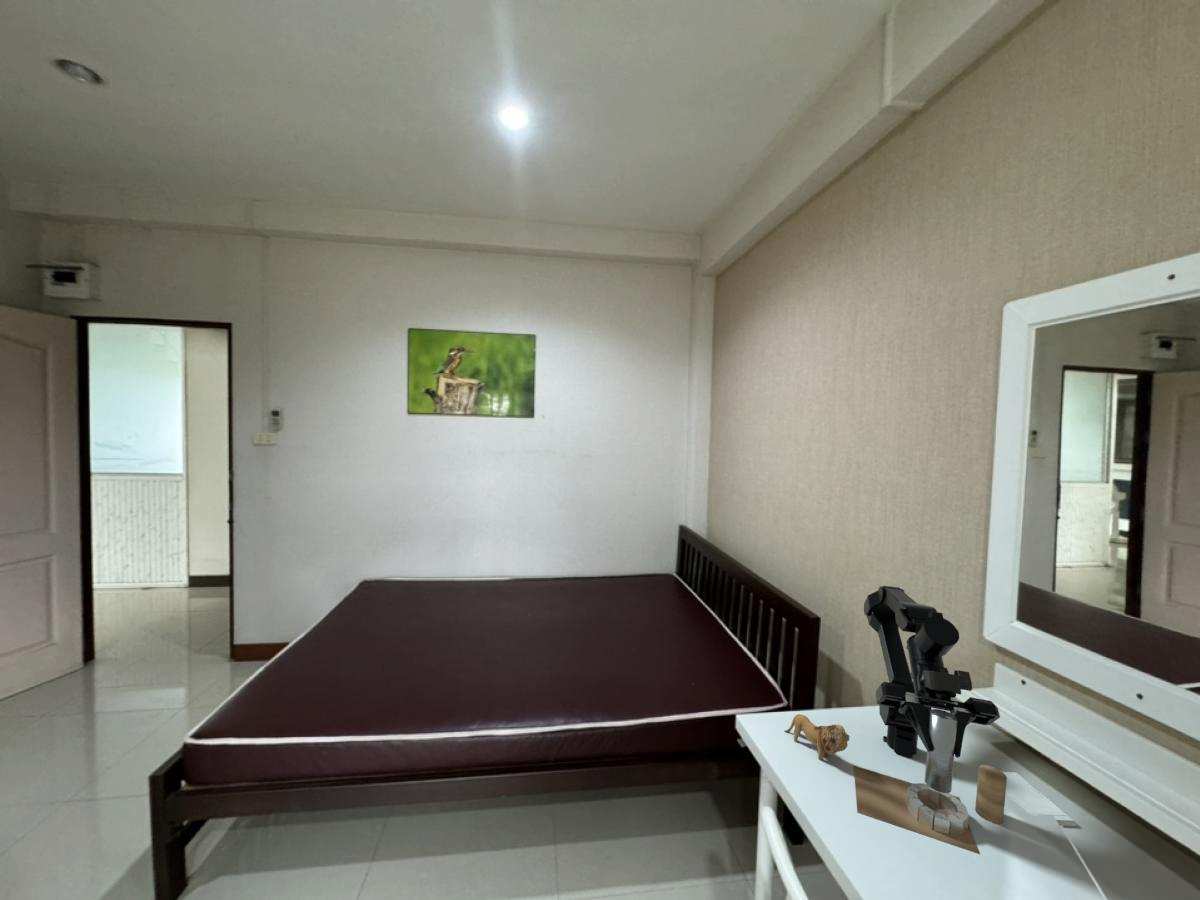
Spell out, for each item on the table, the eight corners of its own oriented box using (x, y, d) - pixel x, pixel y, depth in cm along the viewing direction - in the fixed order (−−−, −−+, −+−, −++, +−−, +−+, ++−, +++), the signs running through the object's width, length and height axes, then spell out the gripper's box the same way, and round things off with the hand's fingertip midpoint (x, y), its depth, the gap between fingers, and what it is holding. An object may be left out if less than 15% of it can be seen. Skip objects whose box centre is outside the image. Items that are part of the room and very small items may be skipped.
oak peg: (972, 808, 91) (976, 762, 91) (998, 816, 89) (1002, 769, 89) (978, 823, 87) (982, 775, 87) (1005, 832, 86) (1010, 783, 85)
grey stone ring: (903, 789, 94) (904, 777, 94) (959, 807, 90) (960, 794, 90) (910, 822, 86) (911, 809, 85) (972, 843, 82) (974, 829, 82)
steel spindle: (919, 776, 90) (925, 708, 89) (941, 777, 89) (947, 709, 89) (933, 792, 86) (939, 721, 85) (956, 793, 85) (962, 723, 85)
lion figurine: (851, 768, 101) (854, 726, 100) (838, 778, 97) (841, 735, 97) (788, 731, 112) (791, 693, 112) (774, 738, 109) (777, 700, 109)
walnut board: (853, 770, 100) (853, 765, 100) (958, 802, 92) (959, 797, 92) (857, 817, 87) (857, 812, 87) (979, 859, 80) (980, 854, 80)
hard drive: (978, 770, 100) (1032, 818, 88) (1017, 772, 100) (1076, 820, 88) (977, 778, 100) (1031, 827, 88) (1016, 779, 100) (1075, 829, 88)
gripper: (883, 641, 93) (895, 729, 83) (999, 659, 87) (1027, 756, 77) (871, 662, 101) (880, 745, 91) (976, 680, 95) (999, 771, 85)
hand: (943, 754), depth 86 cm, fingers closed on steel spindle, 4 cm apart
